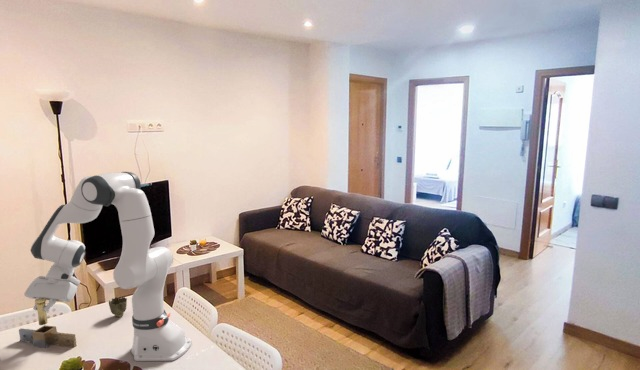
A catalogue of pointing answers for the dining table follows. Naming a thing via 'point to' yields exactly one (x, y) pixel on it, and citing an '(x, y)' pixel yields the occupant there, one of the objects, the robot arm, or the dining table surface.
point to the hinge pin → (41, 311)
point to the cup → (118, 306)
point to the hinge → (47, 337)
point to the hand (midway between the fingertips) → (40, 310)
